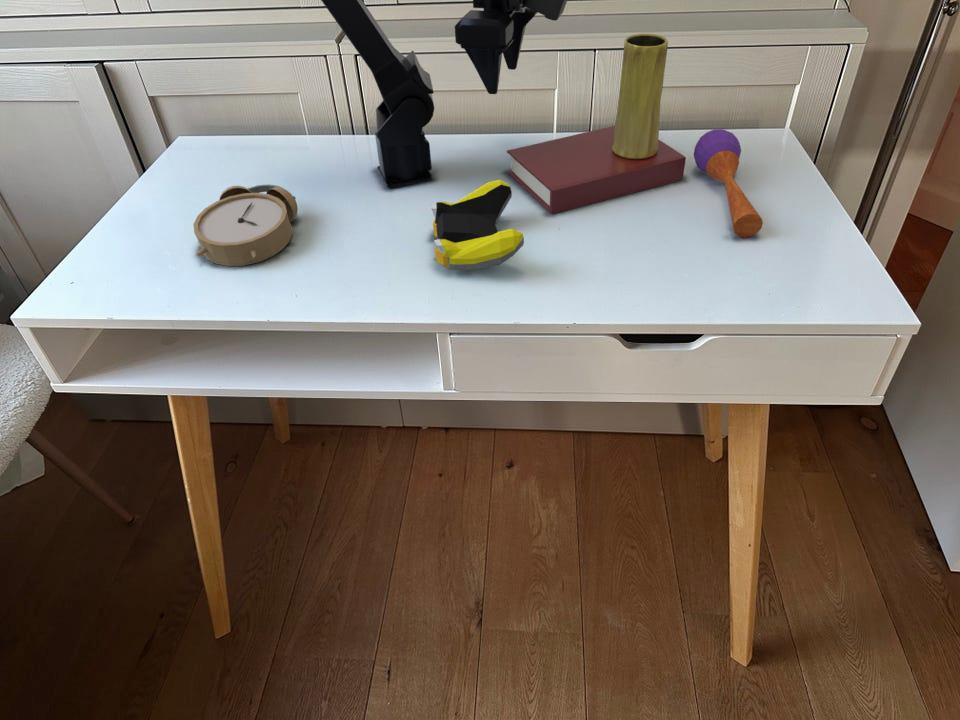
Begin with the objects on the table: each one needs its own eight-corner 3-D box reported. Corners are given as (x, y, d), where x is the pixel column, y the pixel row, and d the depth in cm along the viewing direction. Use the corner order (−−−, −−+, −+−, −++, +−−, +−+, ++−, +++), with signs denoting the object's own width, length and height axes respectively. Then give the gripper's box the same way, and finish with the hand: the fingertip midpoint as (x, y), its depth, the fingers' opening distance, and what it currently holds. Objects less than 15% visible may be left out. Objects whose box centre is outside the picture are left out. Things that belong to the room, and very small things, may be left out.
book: (551, 214, 92) (552, 190, 90) (507, 172, 101) (506, 150, 99) (682, 179, 97) (686, 157, 95) (629, 143, 107) (631, 121, 104)
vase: (647, 163, 94) (660, 50, 85) (604, 154, 97) (612, 44, 87) (664, 145, 98) (679, 35, 89) (622, 137, 100) (632, 29, 91)
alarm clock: (176, 245, 84) (222, 167, 93) (192, 275, 88) (235, 197, 97) (266, 249, 82) (304, 169, 92) (279, 280, 86) (314, 200, 96)
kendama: (721, 209, 83) (689, 126, 97) (721, 250, 87) (690, 164, 101) (775, 199, 82) (735, 117, 96) (773, 241, 86) (734, 156, 100)
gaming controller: (510, 213, 92) (432, 220, 92) (509, 174, 89) (428, 180, 88) (526, 279, 81) (437, 287, 80) (526, 237, 77) (433, 244, 77)
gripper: (548, -32, 76) (545, 112, 86) (583, -68, 89) (577, 61, 100) (449, -35, 79) (458, 106, 89) (497, -69, 92) (500, 56, 102)
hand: (502, 81), depth 95 cm, fingers open, 9 cm apart
